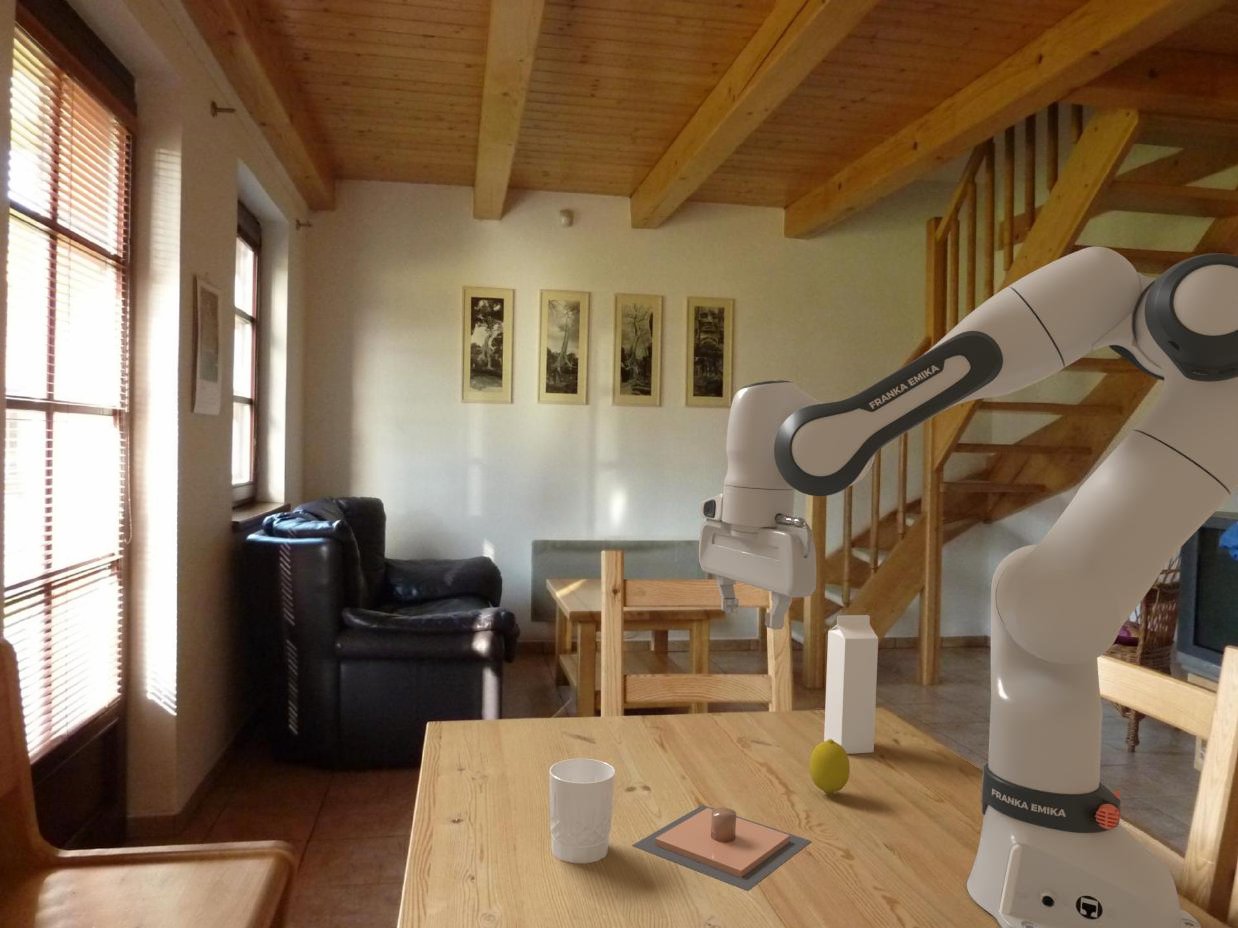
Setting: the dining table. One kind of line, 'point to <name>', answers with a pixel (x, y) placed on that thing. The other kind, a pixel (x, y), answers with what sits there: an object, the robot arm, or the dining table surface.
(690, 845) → the lid
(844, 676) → the milk
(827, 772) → the lemon
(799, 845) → the mat
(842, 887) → the dining table surface
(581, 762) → the white cup
